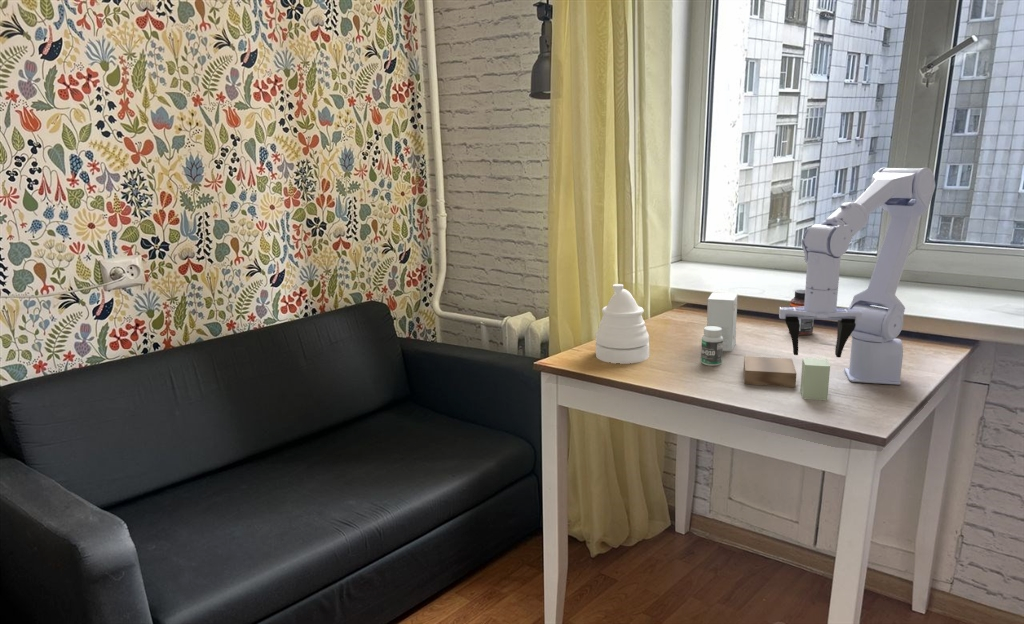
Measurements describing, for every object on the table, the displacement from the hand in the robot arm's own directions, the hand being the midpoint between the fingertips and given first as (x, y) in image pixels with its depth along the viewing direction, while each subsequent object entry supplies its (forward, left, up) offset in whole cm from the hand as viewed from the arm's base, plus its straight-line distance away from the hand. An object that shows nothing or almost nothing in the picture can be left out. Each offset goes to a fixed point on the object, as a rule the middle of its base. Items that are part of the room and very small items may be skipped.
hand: (816, 354), depth 132 cm
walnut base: (+8, -9, -8) cm, 15 cm away
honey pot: (+41, -19, -9) cm, 46 cm away
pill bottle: (+20, -17, -9) cm, 28 cm away
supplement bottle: (-2, -47, -9) cm, 48 cm away
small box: (+18, -31, -9) cm, 37 cm away
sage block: (0, 0, -8) cm, 8 cm away
